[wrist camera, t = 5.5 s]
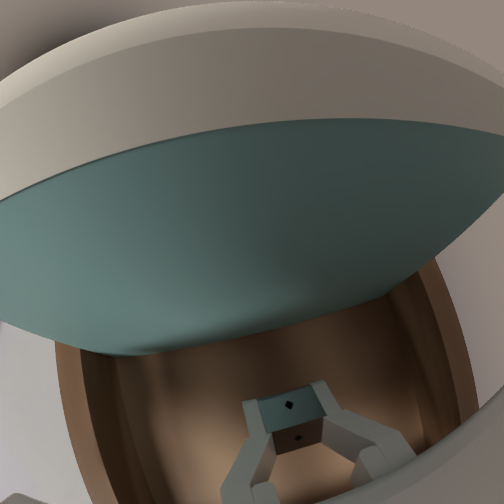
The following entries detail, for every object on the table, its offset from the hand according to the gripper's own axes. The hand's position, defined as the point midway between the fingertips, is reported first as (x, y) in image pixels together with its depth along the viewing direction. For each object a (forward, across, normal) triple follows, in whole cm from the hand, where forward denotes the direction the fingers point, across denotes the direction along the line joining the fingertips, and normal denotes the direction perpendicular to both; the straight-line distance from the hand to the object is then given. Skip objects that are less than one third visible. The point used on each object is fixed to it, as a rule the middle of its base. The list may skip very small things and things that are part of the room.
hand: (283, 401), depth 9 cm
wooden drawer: (+2, 0, +9) cm, 9 cm away
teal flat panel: (+7, 0, 0) cm, 7 cm away
